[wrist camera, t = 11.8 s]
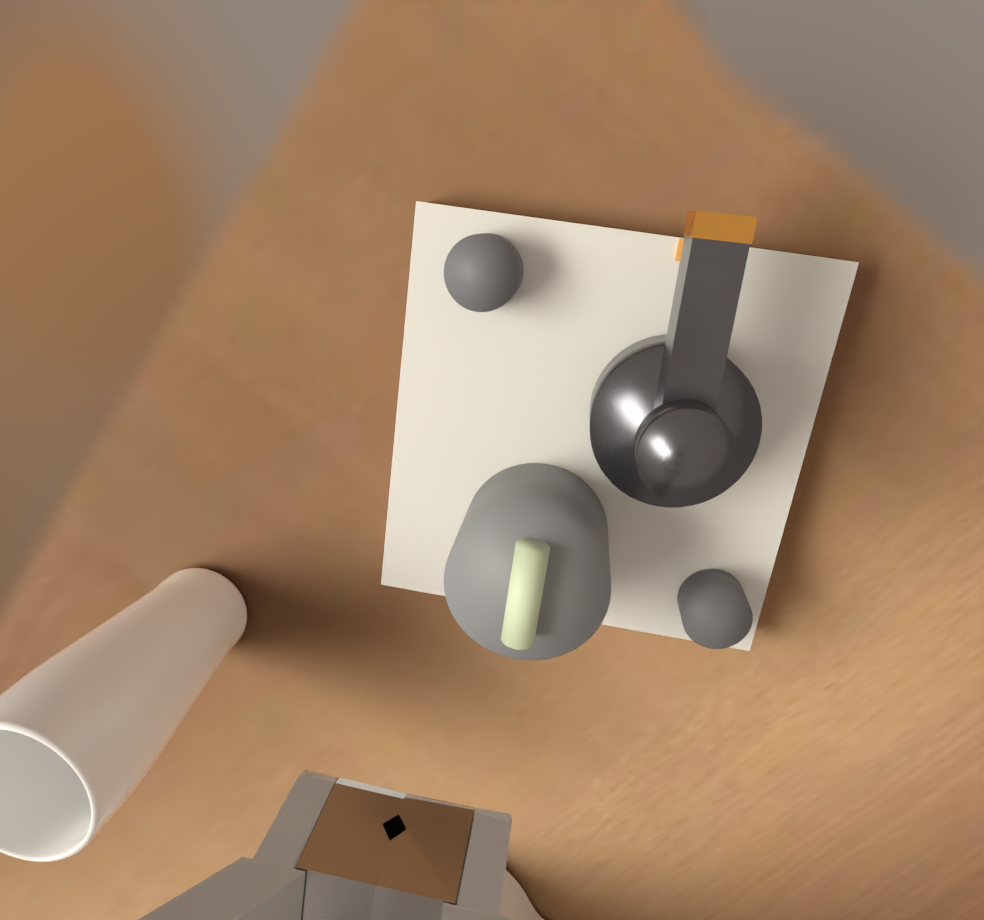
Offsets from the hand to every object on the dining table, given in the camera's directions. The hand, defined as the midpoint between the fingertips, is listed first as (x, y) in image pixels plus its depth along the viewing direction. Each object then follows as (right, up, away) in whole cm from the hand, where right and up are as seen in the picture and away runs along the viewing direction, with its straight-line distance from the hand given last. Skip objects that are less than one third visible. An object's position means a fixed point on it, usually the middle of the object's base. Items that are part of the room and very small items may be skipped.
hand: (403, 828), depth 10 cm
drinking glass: (-15, -3, +32) cm, 36 cm away
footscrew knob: (+9, +10, +22) cm, 26 cm away
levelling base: (+6, +7, +26) cm, 28 cm away
